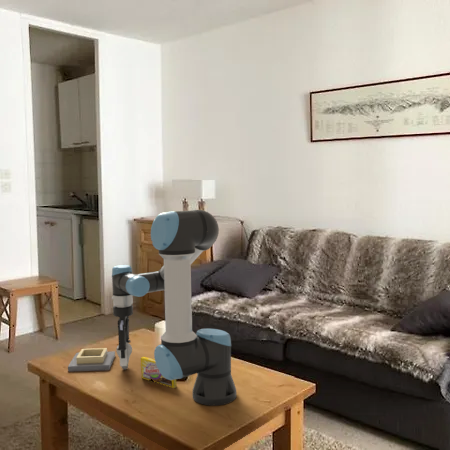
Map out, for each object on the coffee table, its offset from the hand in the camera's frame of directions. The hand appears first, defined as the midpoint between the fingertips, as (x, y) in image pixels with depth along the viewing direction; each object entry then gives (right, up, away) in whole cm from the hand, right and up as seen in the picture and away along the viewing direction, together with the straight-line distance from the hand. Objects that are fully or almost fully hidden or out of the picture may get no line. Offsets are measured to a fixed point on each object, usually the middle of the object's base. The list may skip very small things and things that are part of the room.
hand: (124, 362), depth 206 cm
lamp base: (-14, -2, +7) cm, 16 cm away
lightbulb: (0, -3, 0) cm, 3 cm away
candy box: (+15, -4, -13) cm, 20 cm away
